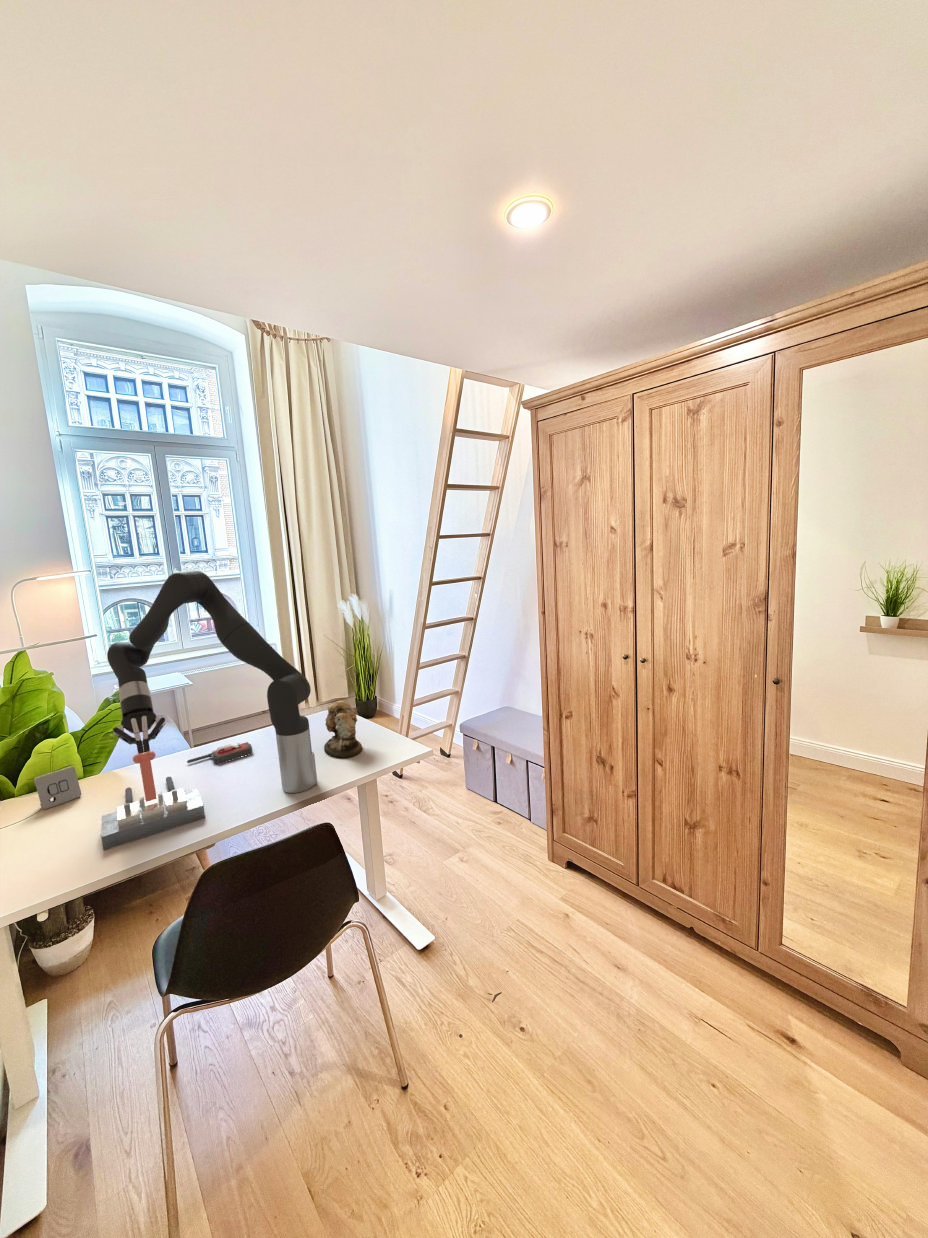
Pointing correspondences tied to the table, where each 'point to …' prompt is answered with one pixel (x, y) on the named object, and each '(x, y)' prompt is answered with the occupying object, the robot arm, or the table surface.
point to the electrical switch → (57, 787)
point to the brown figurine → (342, 731)
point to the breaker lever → (146, 773)
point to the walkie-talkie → (227, 753)
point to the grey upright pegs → (129, 791)
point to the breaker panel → (151, 817)
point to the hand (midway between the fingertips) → (144, 754)
